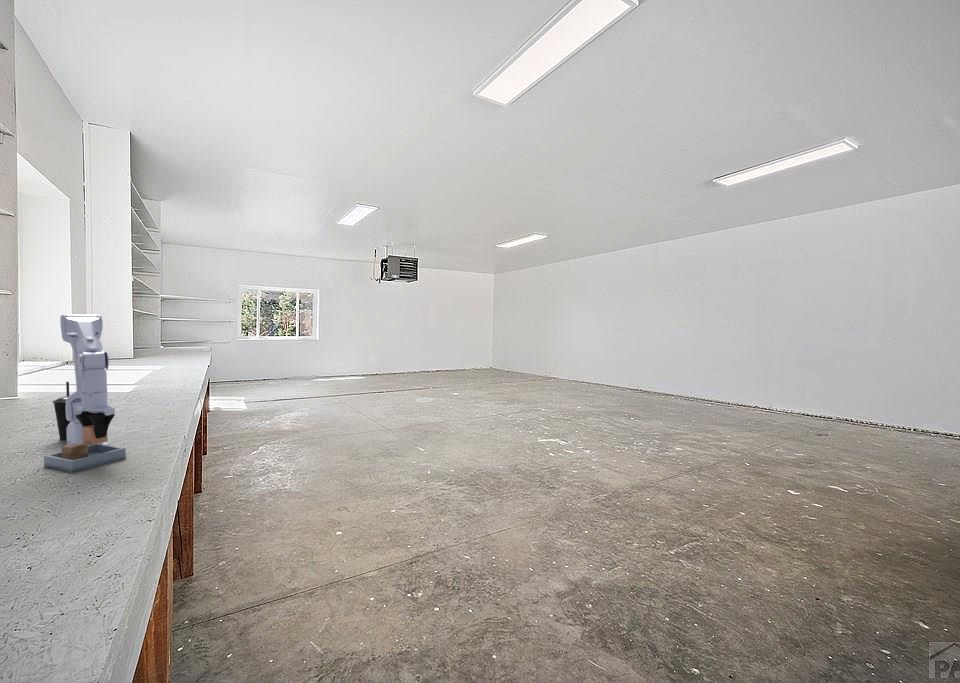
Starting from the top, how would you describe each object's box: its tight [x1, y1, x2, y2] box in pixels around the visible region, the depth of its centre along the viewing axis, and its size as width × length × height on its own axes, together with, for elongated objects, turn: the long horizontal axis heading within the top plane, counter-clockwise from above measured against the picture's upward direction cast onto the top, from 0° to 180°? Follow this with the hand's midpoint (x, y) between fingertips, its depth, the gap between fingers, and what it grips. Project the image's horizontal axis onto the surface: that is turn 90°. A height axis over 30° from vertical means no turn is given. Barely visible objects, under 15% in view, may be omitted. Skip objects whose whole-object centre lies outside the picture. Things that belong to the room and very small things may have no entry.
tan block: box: [61, 442, 88, 460], centre depth 122 cm, size 4×4×5 cm
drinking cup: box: [52, 381, 72, 441], centre depth 147 cm, size 8×8×20 cm
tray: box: [43, 444, 127, 473], centre depth 124 cm, size 13×13×3 cm
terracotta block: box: [83, 425, 109, 445], centre depth 126 cm, size 4×4×5 cm
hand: (96, 436), depth 126 cm, fingers closed on terracotta block, 4 cm apart
